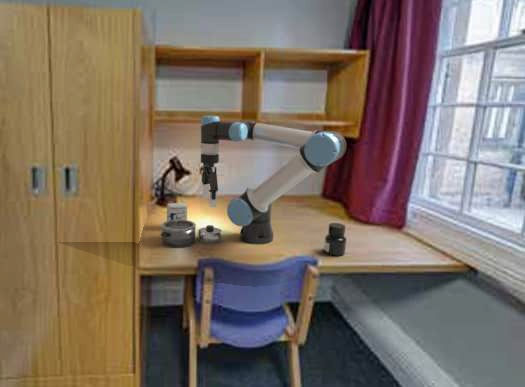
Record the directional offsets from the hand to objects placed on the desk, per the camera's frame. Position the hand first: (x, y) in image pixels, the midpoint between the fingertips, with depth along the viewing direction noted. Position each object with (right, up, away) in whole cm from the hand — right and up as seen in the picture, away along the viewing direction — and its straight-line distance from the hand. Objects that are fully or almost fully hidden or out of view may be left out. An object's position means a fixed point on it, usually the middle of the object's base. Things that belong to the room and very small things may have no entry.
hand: (209, 202), depth 178 cm
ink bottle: (+53, -21, -2) cm, 57 cm away
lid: (0, -17, +3) cm, 17 cm away
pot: (-13, -17, -1) cm, 21 cm away
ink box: (-17, -13, +16) cm, 26 cm away
